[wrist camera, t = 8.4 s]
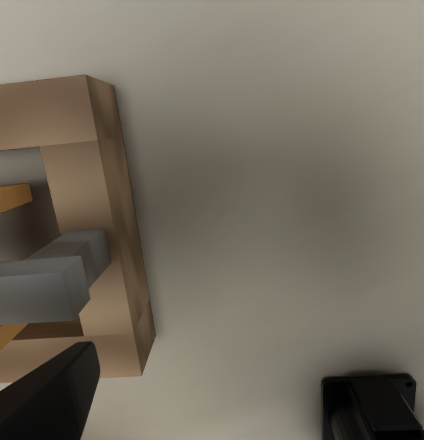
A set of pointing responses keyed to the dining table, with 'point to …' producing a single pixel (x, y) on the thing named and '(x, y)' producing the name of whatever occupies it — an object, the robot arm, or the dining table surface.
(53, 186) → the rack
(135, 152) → the dining table surface
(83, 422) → the robot arm
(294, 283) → the dining table surface
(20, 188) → the orange arch block
